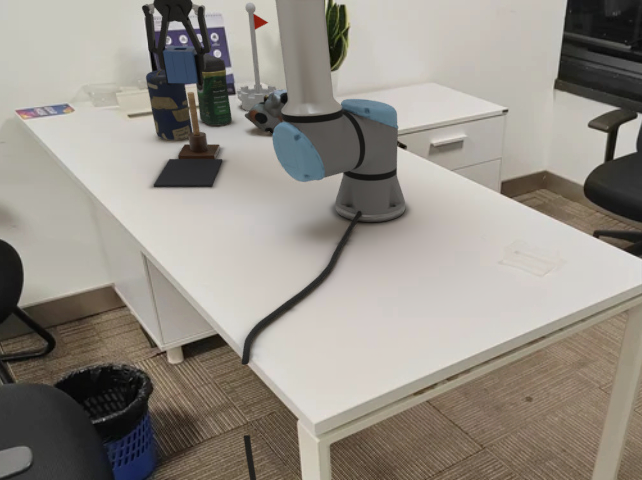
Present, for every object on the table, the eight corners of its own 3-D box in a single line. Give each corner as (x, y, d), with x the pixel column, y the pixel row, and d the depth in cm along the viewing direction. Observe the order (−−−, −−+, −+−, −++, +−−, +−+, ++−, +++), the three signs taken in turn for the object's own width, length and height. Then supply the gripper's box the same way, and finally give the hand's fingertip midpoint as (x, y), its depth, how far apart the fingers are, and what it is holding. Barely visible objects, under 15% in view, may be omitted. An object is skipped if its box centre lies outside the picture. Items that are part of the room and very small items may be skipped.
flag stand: (232, 110, 214) (219, 3, 197) (248, 100, 225) (237, -2, 208) (272, 113, 212) (262, 6, 196) (286, 103, 223) (278, 1, 206)
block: (196, 83, 162) (192, 51, 158) (168, 83, 161) (162, 51, 157) (201, 77, 167) (197, 46, 163) (173, 76, 167) (168, 45, 163)
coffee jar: (236, 123, 202) (228, 56, 192) (211, 128, 198) (201, 59, 188) (221, 116, 208) (213, 50, 198) (196, 120, 204) (186, 53, 194)
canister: (200, 136, 191) (190, 68, 181) (173, 144, 184) (161, 74, 174) (177, 130, 195) (165, 63, 185) (149, 137, 188) (136, 68, 178)
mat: (211, 186, 160) (211, 184, 160) (153, 187, 159) (153, 184, 158) (222, 161, 175) (222, 158, 175) (169, 161, 174) (169, 158, 173)
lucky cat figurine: (269, 119, 207) (289, 77, 200) (297, 142, 204) (318, 101, 198) (235, 115, 194) (255, 71, 187) (264, 140, 191) (286, 96, 185)
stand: (215, 160, 176) (206, 97, 167) (178, 159, 175) (168, 97, 166) (220, 148, 183) (212, 88, 174) (185, 148, 182) (175, 88, 173)
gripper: (216, -26, 156) (229, 80, 169) (127, -28, 154) (147, 79, 167) (211, -22, 150) (224, 88, 163) (118, -24, 148) (139, 87, 161)
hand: (185, 83), depth 165 cm, fingers closed on block, 6 cm apart
